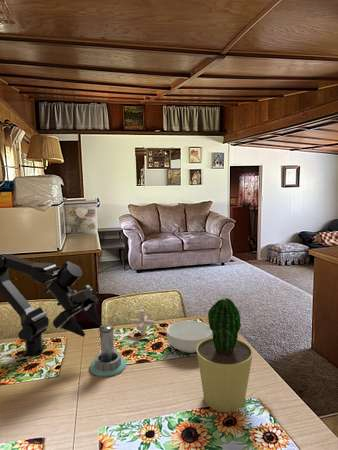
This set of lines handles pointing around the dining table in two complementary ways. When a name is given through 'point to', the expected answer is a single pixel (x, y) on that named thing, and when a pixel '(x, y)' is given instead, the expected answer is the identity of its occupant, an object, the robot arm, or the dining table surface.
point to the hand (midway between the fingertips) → (92, 329)
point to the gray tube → (107, 343)
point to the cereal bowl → (188, 335)
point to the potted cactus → (224, 359)
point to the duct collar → (108, 366)
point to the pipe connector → (142, 322)
